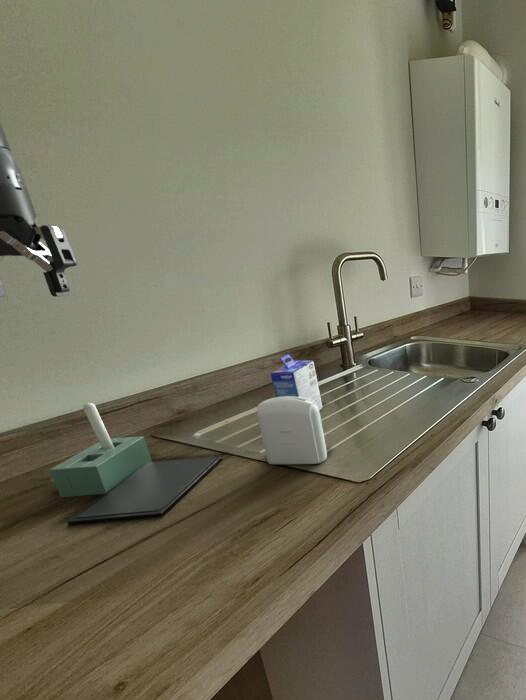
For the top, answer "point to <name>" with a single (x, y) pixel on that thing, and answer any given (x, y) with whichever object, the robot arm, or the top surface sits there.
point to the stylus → (98, 426)
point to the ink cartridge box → (296, 380)
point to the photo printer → (291, 430)
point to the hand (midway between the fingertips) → (29, 296)
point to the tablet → (147, 491)
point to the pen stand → (100, 467)
